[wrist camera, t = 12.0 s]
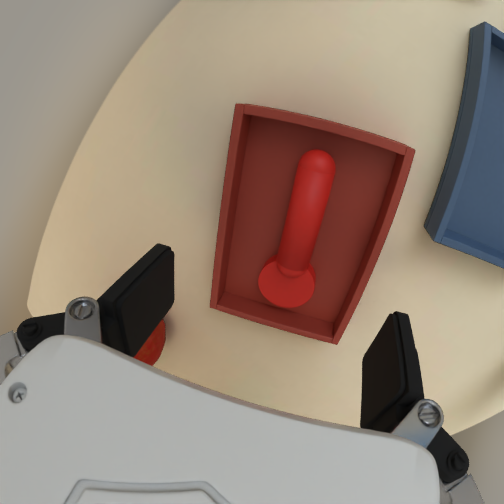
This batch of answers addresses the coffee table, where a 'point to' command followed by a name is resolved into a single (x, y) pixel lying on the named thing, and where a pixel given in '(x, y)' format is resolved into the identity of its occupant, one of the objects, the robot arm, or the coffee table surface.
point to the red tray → (276, 206)
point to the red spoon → (299, 233)
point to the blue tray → (475, 158)
